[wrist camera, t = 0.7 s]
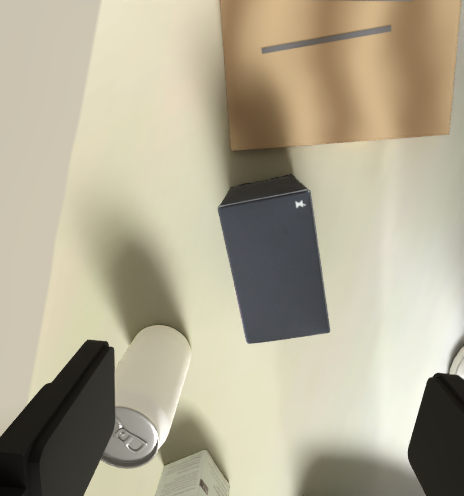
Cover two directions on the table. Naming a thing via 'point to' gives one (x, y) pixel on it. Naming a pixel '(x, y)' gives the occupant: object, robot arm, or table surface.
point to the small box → (275, 259)
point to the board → (337, 70)
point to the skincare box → (193, 477)
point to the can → (146, 395)
